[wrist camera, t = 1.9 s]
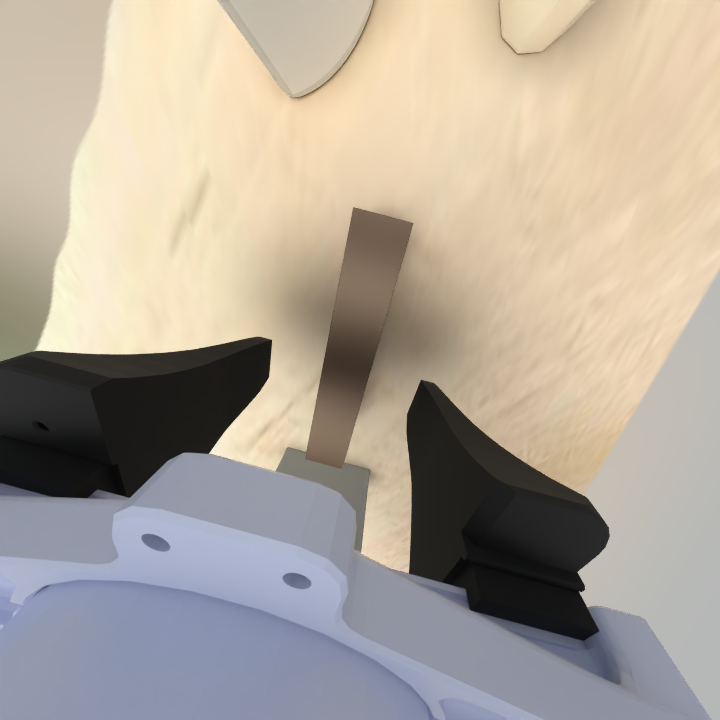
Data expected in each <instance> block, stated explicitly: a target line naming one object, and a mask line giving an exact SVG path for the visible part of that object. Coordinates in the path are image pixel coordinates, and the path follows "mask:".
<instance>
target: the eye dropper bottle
mask: <svg viewBox="0 0 720 720" xmlns="http://www.w3.org/2000/svg"><path fill="white" fill-rule="evenodd" d="M373 1H374V0H218V2H219V3H220V5H221V6H222V7H223V9H224V10H225V11H226V13H227V14H228V16H229V17H230V18H231V20H232V21H233V22H234V24H235V25H236V27H237V28H238V29H239V31H240V32H241V33H242V35H243V36H244V38H245V39H246V40H247V42H248V43H249V44H250V46H251V47H252V49H253V50H254V51H255V53H256V54H257V55H258V57H259V58H260V60H261V61H262V62H263V64H264V65H265V66H266V68H267V69H268V70H269V72H270V73H271V75H272V76H273V77H274V79H275V80H276V81H277V83H278V84H279V85H280V87H281V88H282V89H283V91H284V92H285V93H287V94H288V95H289V96H291V97H301V96H303V95H306V94H308V93H310V92H312V91H313V90H315V89H317V88H318V87H320V86H321V85H322V84H324V83H325V82H326V81H327V80H328V79H330V78H331V77H332V76H333V75H334V74H335V73H336V72H337V70H338V69H339V68H340V67H341V66H342V64H343V63H344V62H345V60H346V59H347V58H348V56H349V55H350V53H351V52H352V50H353V48H354V47H355V45H356V43H357V41H358V39H359V37H360V35H361V33H362V31H363V29H364V26H365V24H366V22H367V19H368V17H369V14H370V11H371V8H372V5H373Z"/></svg>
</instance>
